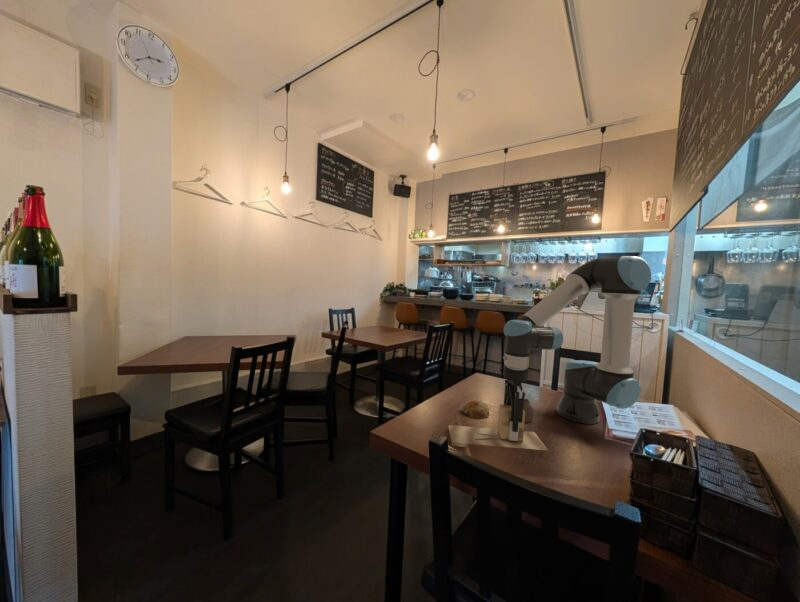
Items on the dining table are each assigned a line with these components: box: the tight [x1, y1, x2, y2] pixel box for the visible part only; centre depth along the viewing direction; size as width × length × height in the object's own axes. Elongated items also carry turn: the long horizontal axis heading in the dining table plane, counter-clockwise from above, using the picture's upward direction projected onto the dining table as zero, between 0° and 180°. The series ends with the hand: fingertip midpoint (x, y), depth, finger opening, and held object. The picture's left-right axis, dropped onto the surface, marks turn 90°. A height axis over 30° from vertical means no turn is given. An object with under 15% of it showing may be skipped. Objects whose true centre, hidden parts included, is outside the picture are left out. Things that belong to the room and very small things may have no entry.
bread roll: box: [462, 399, 490, 420], centre depth 122 cm, size 10×10×8 cm
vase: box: [523, 398, 535, 424], centre depth 119 cm, size 7×7×9 cm
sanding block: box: [497, 404, 526, 442], centre depth 103 cm, size 7×5×10 cm
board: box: [448, 424, 549, 451], centre depth 104 cm, size 30×12×1 cm, turn 87°
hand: (510, 435), depth 103 cm, fingers closed on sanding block, 5 cm apart
